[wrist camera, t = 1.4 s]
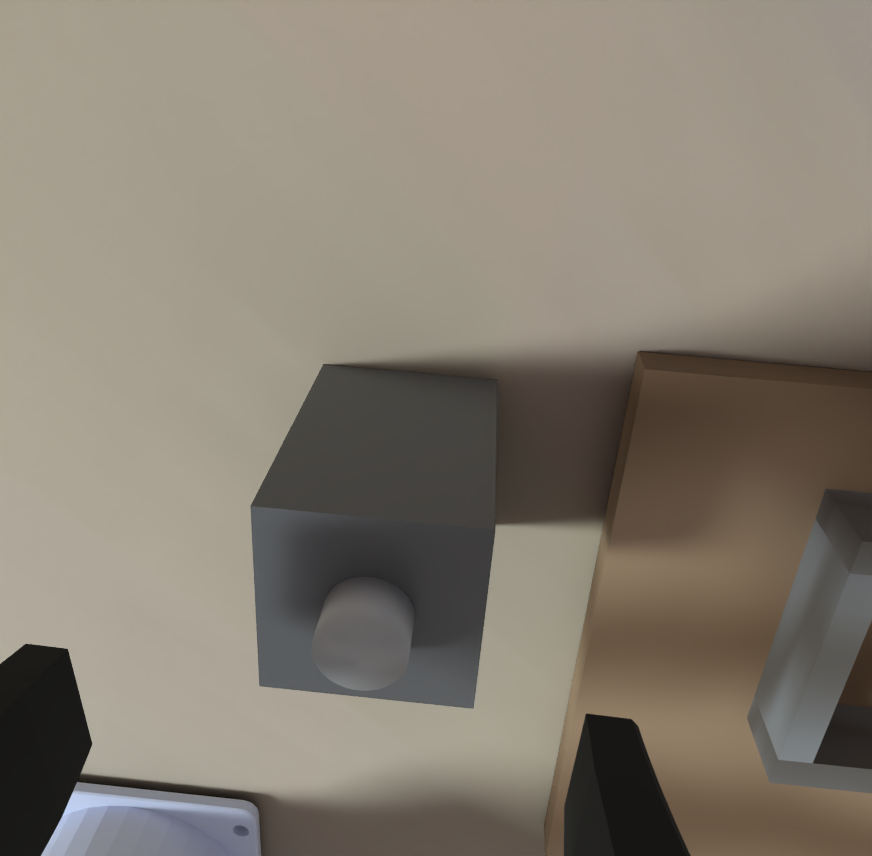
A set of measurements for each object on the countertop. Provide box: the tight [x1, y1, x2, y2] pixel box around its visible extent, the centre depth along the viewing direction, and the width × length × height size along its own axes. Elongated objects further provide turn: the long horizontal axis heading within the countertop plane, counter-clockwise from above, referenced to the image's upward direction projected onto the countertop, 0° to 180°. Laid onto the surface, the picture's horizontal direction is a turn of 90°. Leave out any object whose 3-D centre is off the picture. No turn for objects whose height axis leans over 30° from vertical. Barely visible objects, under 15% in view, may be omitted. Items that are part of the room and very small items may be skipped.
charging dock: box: [544, 352, 872, 856], centre depth 20 cm, size 16×14×3 cm
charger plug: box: [251, 364, 497, 708], centre depth 16 cm, size 4×4×7 cm
